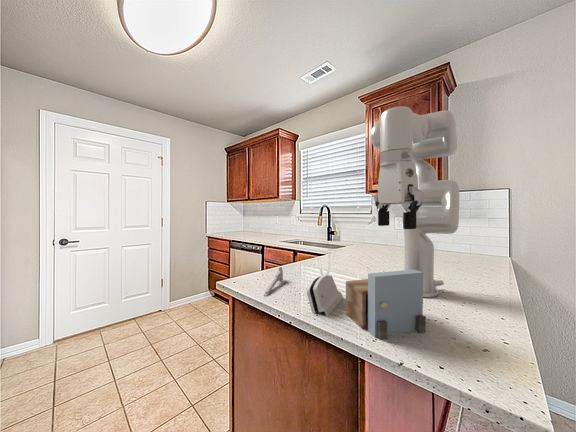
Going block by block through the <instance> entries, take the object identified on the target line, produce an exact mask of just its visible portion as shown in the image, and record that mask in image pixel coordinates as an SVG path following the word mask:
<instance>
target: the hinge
mask: <svg viewBox="0 0 576 432" xmlns="http://www.w3.org/2000/svg"><path fill="white" fill-rule="evenodd" d="M333 277H334V276H332V275H322V276H318V277H316V278H314V279H313V280H311V282H310V283H309V285H307V288H306V295H307V299H308V302H309V306H310V310H311V313H312V314H316V313H317V312H318V313H323V312H324V314H325V316H326V317H329V315H330V314H331V313H332V312H333V310H334V309H335V308H336V307H337V304H338V305H339V304H340V302H341V301H342V300H343V299H344V296H343V293H342V292H341V291H339V290H338V287H337V286H336V283H335V281H334V280H335V279H334V278H333ZM342 298H343V299H342ZM341 299H342V300H341Z"/></svg>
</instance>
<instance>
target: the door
mask: <svg viewBox="0 0 576 432" xmlns="http://www.w3.org/2000/svg"><path fill="white" fill-rule="evenodd" d="M367 279H368V329H367V332H368V333H369V334H370V335H372V337H374V338H377V321H383V320H385V321H386V322H387V336H391V335H397V334H398V335H399V334H403V333H411V332H416V316H418V315H424V314H423V312H424V310H423V309H424V308H423V307H424V297H423V272H420V271H417V270H405V269H404V270H394V271H392V270H391V271H382V272H371V273H368V274H367Z"/></svg>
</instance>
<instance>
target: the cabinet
mask: <svg viewBox="0 0 576 432" xmlns="http://www.w3.org/2000/svg"><path fill="white" fill-rule="evenodd" d="M345 315H346V316H347V317H348V318H350V320H351V321H353V322H354V323H355V324H356V325H357V326H358V327H360V329H362V330H365V329H366V330H368V278H365V279H364V278H363V279H354V280H353V279H351V280H346V281H345ZM426 320H427V319H426V316H425V315H424V314H423V315H418V316H416V331H415V332H417V333H418V334H421V333H426V322H427V321H426ZM376 338H377V339H379V340H386V339H388V335H387V322H386V321H385V320H383V321H377V337H376Z"/></svg>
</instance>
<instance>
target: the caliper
mask: <svg viewBox="0 0 576 432" xmlns="http://www.w3.org/2000/svg"><path fill="white" fill-rule="evenodd" d="M283 280H284V272H283V268H282V266H279V268H278V271H277V272H276V274H275V277H274V278H273V280H272V281H271V283H270V284H269V285H268V287H267V288H266V290H265V292H264V293H263V294H264V295H263V296H264V297H267V296H269V295H270V293H271V292H272V290H273V288H274V286H275V285H276V283H277V282H282V281H283Z"/></svg>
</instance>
